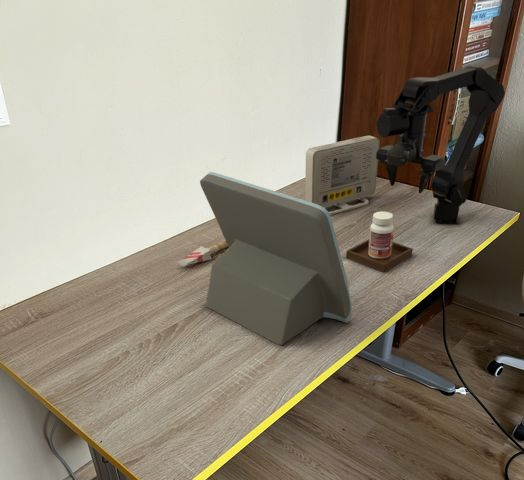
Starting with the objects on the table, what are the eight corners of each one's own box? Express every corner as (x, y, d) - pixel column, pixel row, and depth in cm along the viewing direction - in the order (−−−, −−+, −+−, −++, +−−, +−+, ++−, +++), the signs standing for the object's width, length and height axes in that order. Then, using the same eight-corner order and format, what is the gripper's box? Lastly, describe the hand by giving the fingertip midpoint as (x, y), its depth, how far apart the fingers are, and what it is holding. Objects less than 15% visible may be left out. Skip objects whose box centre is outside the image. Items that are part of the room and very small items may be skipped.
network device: (363, 193, 190) (367, 133, 179) (380, 201, 184) (385, 139, 172) (301, 210, 180) (301, 147, 168) (316, 218, 174) (318, 153, 162)
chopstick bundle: (174, 257, 148) (226, 235, 160) (175, 266, 149) (227, 244, 162) (184, 261, 146) (236, 238, 158) (185, 270, 147) (237, 247, 160)
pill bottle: (393, 258, 149) (398, 218, 142) (371, 260, 148) (375, 220, 142) (387, 248, 154) (391, 209, 147) (365, 250, 153) (368, 211, 147)
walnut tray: (374, 242, 158) (375, 235, 157) (411, 255, 151) (412, 248, 150) (346, 258, 151) (346, 250, 150) (383, 272, 144) (384, 264, 143)
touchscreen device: (355, 318, 126) (362, 190, 108) (298, 358, 116) (295, 224, 98) (249, 270, 147) (239, 156, 129) (192, 301, 136) (173, 181, 118)
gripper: (366, 131, 148) (361, 189, 157) (427, 144, 137) (418, 205, 146) (390, 123, 154) (385, 179, 163) (450, 134, 143) (441, 193, 152)
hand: (406, 189), depth 156 cm, fingers open, 9 cm apart
